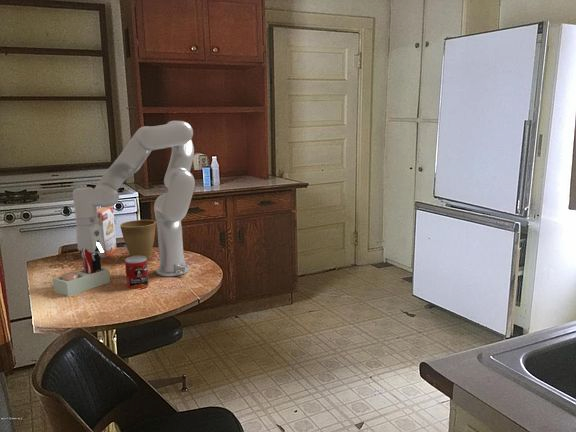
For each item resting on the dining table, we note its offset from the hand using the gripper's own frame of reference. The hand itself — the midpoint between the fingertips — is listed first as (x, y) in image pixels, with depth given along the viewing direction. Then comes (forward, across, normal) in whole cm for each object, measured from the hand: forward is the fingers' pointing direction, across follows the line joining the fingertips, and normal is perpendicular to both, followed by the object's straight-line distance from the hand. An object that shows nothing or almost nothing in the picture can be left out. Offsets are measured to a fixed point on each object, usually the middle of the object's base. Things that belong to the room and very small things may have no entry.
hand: (92, 268), depth 186 cm
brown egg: (+6, 0, +9) cm, 11 cm away
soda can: (+3, 0, 0) cm, 3 cm away
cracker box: (+7, +31, -28) cm, 43 cm away
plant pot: (+7, +12, -32) cm, 35 cm away
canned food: (+7, -16, -7) cm, 19 cm away
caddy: (+6, 0, +5) cm, 8 cm away
